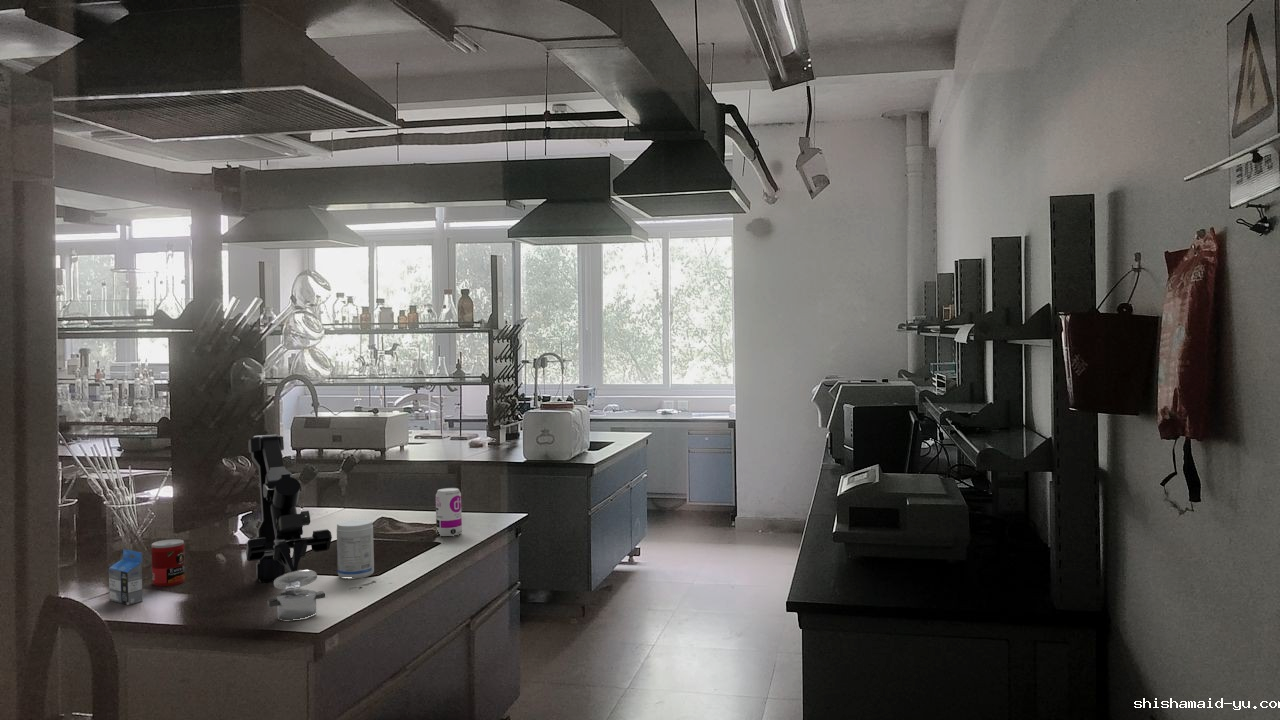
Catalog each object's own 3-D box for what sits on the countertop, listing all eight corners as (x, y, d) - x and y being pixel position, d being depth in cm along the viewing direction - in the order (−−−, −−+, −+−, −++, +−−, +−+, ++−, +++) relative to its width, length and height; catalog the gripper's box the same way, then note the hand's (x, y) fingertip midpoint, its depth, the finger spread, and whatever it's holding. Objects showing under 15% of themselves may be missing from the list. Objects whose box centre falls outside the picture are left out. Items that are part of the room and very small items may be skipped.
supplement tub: (342, 571, 237) (341, 519, 237) (377, 570, 238) (376, 517, 238) (333, 581, 227) (332, 526, 227) (370, 579, 228) (368, 524, 228)
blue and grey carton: (108, 600, 214) (107, 552, 213) (124, 596, 217) (123, 548, 217) (127, 605, 209) (126, 555, 209) (144, 601, 212) (142, 552, 212)
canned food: (171, 587, 225) (169, 546, 224) (145, 586, 226) (143, 545, 226) (192, 579, 232) (190, 539, 232) (166, 578, 234) (165, 538, 234)
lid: (271, 592, 199) (270, 585, 200) (313, 585, 204) (312, 578, 205) (276, 577, 192) (275, 569, 193) (319, 570, 197) (318, 563, 198)
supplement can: (467, 533, 283) (466, 488, 283) (449, 538, 276) (448, 492, 276) (449, 531, 287) (448, 486, 287) (431, 535, 280) (430, 490, 280)
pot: (320, 605, 206) (319, 584, 206) (328, 615, 197) (327, 594, 197) (265, 614, 199) (264, 593, 199) (271, 625, 191) (271, 603, 191)
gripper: (246, 505, 199) (253, 561, 190) (329, 496, 209) (340, 549, 199) (242, 532, 206) (250, 588, 197) (323, 522, 216) (334, 575, 206)
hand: (294, 574), depth 200 cm, fingers closed, pressing on lid
